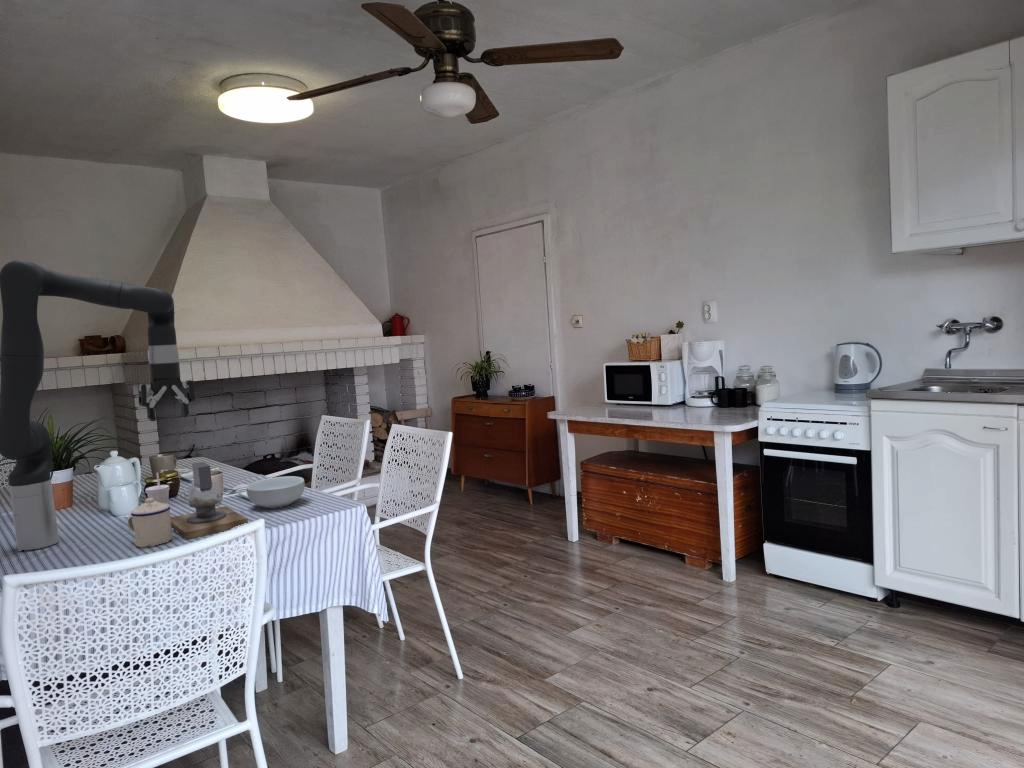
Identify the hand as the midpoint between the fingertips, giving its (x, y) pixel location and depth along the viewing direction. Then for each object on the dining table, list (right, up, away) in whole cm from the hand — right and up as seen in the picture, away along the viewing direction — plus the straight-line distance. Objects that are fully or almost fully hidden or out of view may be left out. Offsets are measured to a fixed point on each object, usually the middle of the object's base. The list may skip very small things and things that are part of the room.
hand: (168, 419), depth 195 cm
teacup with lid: (+2, -32, -13) cm, 34 cm away
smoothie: (-7, -30, +9) cm, 32 cm away
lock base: (+11, -30, -1) cm, 32 cm away
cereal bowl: (+25, -27, +18) cm, 41 cm away
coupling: (+10, -23, -1) cm, 26 cm away
